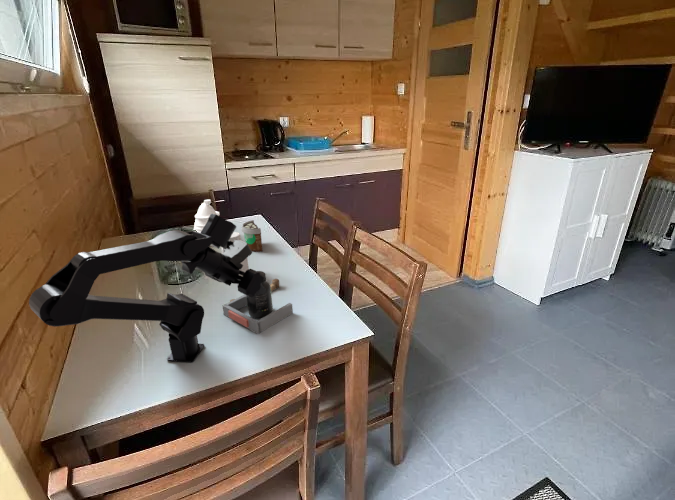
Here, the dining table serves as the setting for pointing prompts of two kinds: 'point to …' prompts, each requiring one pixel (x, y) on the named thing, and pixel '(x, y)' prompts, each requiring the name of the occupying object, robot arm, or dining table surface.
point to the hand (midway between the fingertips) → (253, 287)
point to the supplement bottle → (261, 301)
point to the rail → (272, 285)
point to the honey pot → (203, 215)
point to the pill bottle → (245, 263)
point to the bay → (256, 326)
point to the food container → (252, 236)
